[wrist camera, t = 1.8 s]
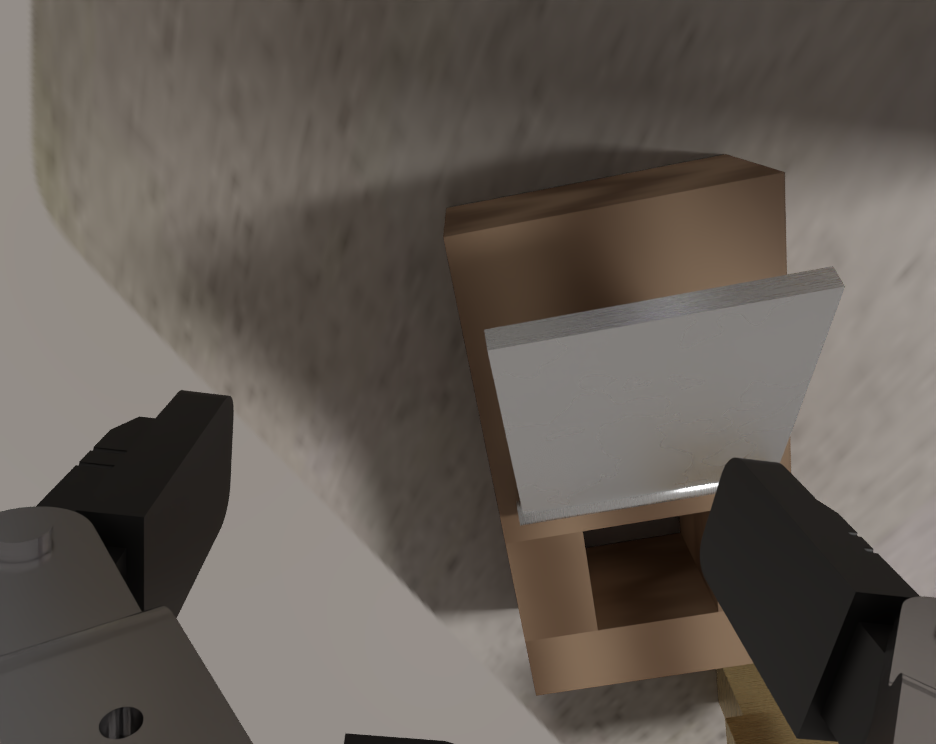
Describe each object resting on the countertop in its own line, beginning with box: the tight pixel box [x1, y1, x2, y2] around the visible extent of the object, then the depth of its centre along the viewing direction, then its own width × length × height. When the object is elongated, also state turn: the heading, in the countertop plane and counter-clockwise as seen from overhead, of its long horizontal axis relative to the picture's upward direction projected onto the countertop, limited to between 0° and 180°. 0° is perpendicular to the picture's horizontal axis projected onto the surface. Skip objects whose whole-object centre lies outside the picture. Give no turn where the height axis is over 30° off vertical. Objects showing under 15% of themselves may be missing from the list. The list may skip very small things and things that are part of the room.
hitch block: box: [443, 154, 791, 696], centre depth 32 cm, size 12×22×6 cm, turn 11°
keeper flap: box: [484, 266, 845, 526], centre depth 25 cm, size 10×12×1 cm
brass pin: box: [716, 663, 839, 744], centre depth 38 cm, size 6×6×8 cm
